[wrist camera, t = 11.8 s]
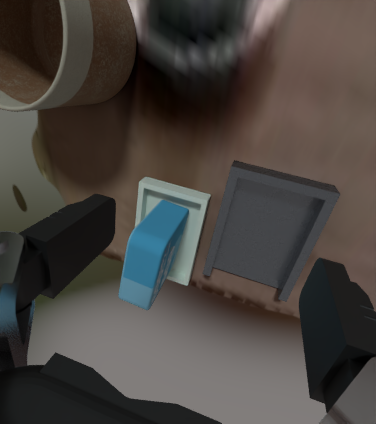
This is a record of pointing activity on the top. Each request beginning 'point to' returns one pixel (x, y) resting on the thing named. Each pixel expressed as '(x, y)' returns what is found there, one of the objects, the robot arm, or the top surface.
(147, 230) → the blue flat block
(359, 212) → the top surface
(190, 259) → the tray
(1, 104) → the planter
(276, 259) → the bay
